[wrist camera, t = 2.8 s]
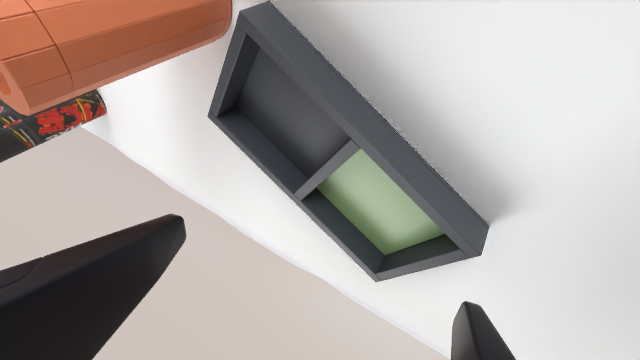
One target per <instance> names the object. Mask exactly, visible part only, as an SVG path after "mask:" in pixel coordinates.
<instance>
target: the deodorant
mask: <svg viewBox="0 0 640 360" xmlns="http://www.w3.org/2000/svg"><path fill="white" fill-rule="evenodd" d="M104 114H106V107H105V105H104V102H103V100H102V98H101V97H100V95H99V94H98V92H97V91H96V89H94V90H92V91H89V92H87V93H84V94H82V95H79V96H77V97H74V98H71V99H69V100H66V101H64V102H61V103H59V104H56V105H54V106H51V107H49V108H46V109H44V110H41V111H39V112H36V113H34V114H31V115H29V116H27V115H23V114H20V113H18V112H17V111H15V110H14V109H13V108H11V107H10V106H9V105H7V104H6V103H5V102H4V101H2V100H1V99H0V163H1V162H3V161H5V160H7V159H9V158H11V157H13V156H16V155H18V154H20V153H22V152H24V151H26V150H28V149H31V148H33V147H35V146H37V145H39V144H41V143H44V142H46V141H48V140H50V139H52V138H55V137H57V136H59V135H61V134H63V133H65V132H68V131H70V130H72V129H74V128H76V127H78V126H80V125H83V124H85V123H87V122H89V121H91V120H93V119H96V118H98V117H100V116H102V115H104Z"/></svg>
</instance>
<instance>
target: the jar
mask: <svg viewBox="0 0 640 360" xmlns="http://www.w3.org/2000/svg"><path fill="white" fill-rule="evenodd" d="M231 15H232V4H231V0H0V99H1V100H2V101H4V102H5V103H6V104H7V105H9V106H10V107H11V108H13V109H14V110H15V111H17V112H18V113H20V114H23V115H27V116H29V115H31V114H34V113H36V112H39V111H41V110H44V109H46V108H49V107H51V106H54V105H56V104H59V103H61V102H64V101H66V100H69V99H71V98H74V97H77V96H79V95H82V94H84V93H87V92H89V91H92V90H94V89H97V88H99V87H102V86H104V85H107V84H109V83H112V82H114V81H117V80H119V79H122V78H124V77H127V76H129V75H132V74H134V73H136V72H139V71H141V70H144V69H146V68H149V67H151V66H154V65H156V64H159V63H161V62H164V61H166V60H169V59H171V58H174V57H176V56H179V55H181V54H184V53H186V52H189V51H191V50H194V49H196V48H199V47H201V46H204V45H206V44H209V43H211V42H214V41H215V40H216V39H219V38H221V37H222V36H223V35H224V34H225V33H226V32H227V30H228V28H229V25H230V22H231Z"/></svg>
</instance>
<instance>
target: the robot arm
mask: <svg viewBox="0 0 640 360" xmlns="http://www.w3.org/2000/svg"><path fill="white" fill-rule="evenodd" d="M185 239H186V230H185V225H184V220H183V218H182V217H181V216H178V215H175V214H168V215H165V216H162V217H159V218H156V219H153V220H150V221H147V222H144V223H141V224H138V225H135V226H132V227H129V228H126V229H123V230H121V231H118V232H115V233H112V234H109V235H106V236H103V237H100V238H97V239H94V240H91V241H88V242H85V243H82V244H79V245H76V246H74V247H70V248H67V249H64V250H62V251H58V252H56V253H52V254H50V255H46V256H44V257H40V258H37V259H34V260H32V261H29V262H26V263H23V264H20V265H16V266H13V267H10V268H7V269H4V270H1V271H0V360H92V359H93V358H94V357H95V355H96V354H97V353H98V352H99V351H100V350H101V348H102V347H103V346H104V345H105V343H106V342H107V341H108V340H109V339H110V337H111V336H112V335H113V334H114V333H115V332H116V330H117V329H118V328H119V327H120V326H121V324H122V323H123V322H124V321H125V320H126V318H127V317H128V316H129V315H130V313H131V312H132V311H133V310H134V309H135V307H136V306H137V305H138V304H139V303H140V302H141V300H142V299H143V298H144V297H145V296H146V294H147V293H148V292H149V291H150V289H151V288H152V287H153V286H154V285H155V283H156V282H157V281H158V280H159V278H160V277H161V275H162V274H163V273H164V271H165V270H166V268H167V267H168V265H169V264H170V262H171V261H172V259H173V258H174V257H175V255H176V254H177V252H178V251H179V249H180V248H181V246H182V244H183V243H184V242H185ZM451 360H516V359H515V357H514V356H513V354H512V353H511V351H510V350H509V348H508V347H507V345H506V344H505V342H504V341H503V339H502V338H501V336H500V335H499V333H498V331H497V330H496V328H495V327H494V325H493V324H492V322H491V321H490V319H489V318H488V316H487V315H486V313H485V312H484V310H483V309H482V307H481V306H479V305H477V304H474V303H470V302H467V301H465V302H463V303H462V305H461V307H460V309H459V311H458V313H457V315H456V317H455V319H454V322H453V327H452V347H451Z"/></svg>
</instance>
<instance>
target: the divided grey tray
mask: <svg viewBox="0 0 640 360" xmlns="http://www.w3.org/2000/svg"><path fill="white" fill-rule="evenodd" d="M208 118H209V119H210V120H211V121H212V122H213V123H214V124H215V125H217V126H218V127H219V128H220V129H221V130H222V131H223V132H224V133H225V134H226V135H227V136H228V137H229V138H230V139H231V140H232V141H233V142H234V143H235V144H236V145H237V146H238V147H239V148H240V149H241V150H242V151H243V152H244V153H245V154H246V155H247V156H248V157H249V158H250V159H251V160H252V161H253V162H254V163H255V164H256V165H257V166H258V167H259V168H260V169H261V170H262V171H263V172H264V173H265V174H266V175H267V176H268V177H269V178H270V179H271V180H272V181H274V182H275V183H276V184H277V185H278V186H279V187H280V188H281V189H282V190H283V191H284V192H285V193H286V194H287V195H288V196H289V197H290V198H291V199H292V200H293V201H294V202H295V203H296V204H297V205H298V206H299V207H300V208H301V209H302V210H303V211H304V212H305V213H306V214H307V215H308V216H309V217H310V218H311V219H312V220H313V221H314V222H315V223H316V224H317V225H318V226H319V227H320V228H321V229H322V230H323V231H324V232H325V233H326V234H327V235H328V236H329V237H331V238H332V239H333V240H334V241H335V242H336V243H337V244H338V245H339V246H340V247H341V248H342V249H343V250H344V251H345V252H346V253H347V254H348V255H349V256H350V257H351V258H352V259H353V260H354V261H355V262H356V263H357V264H358V265H359V266H360V267H361V268H362V269H363V270H364V271H365V272H366V273H367V274H368V275H369V276H370V277H371V278H372V279H373V280H374V281H375V282H378V281H381V280H382V281H383V280H387V279H391V278H394V277H398V276H402V275H406V274H410V273H414V272H418V271H422V270H426V269H430V268H434V267H438V266H442V265H446V264H449V263H453V262H457V261H461V260H465V259H469V258H473V257H477V256H481V254H482V251H483V247H484V244H485V240H486V237H487V233H488V229H489V225H488V224H487V223H486V222H485V221H484V220H483V219H482V218H481V217H480V216H479V215H478V214H477V213H476V212H475V211H474V210H473V209H472V208H471V207H470V206H469V205H468V204H467V203H466V202H465V201H464V200H463V199H462V198H461V197H460V196H459V195H458V194H457V193H456V192H455V191H454V190H453V189H452V188H451V187H450V186H449V185H448V184H447V183H446V181H445V180H444V179H443V178H442V177H441V176H440V175H439V174H438V173H437V172H436V171H435V170H434V169H433V168H432V167H431V166H430V165H429V164H428V163H427V162H426V161H425V160H424V159H423V158H422V157H421V156H420V155H419V154H418V153H417V152H416V151H415V150H414V149H413V148H412V147H411V146H410V145H409V144H408V143H407V142H406V141H405V140H404V139H403V138H402V137H401V136H400V135H399V134H398V132H397V131H396V130H395V129H394V128H393V127H392V126H391V125H390V124H389V123H388V122H387V121H386V120H385V119H384V118H383V117H382V116H381V115H380V114H379V113H378V112H377V111H376V110H375V109H374V108H373V107H372V106H371V105H370V104H369V103H368V102H367V101H366V100H365V99H364V98H363V97H362V96H361V95H360V94H359V93H358V92H357V91H356V90H355V89H354V88H353V87H352V86H351V85H350V83H349V82H348V81H347V80H346V79H345V78H344V77H343V76H342V75H341V74H340V73H339V72H338V71H337V70H336V69H335V68H334V67H333V66H332V65H331V64H330V63H329V62H328V61H327V60H326V59H325V58H324V57H323V56H322V55H321V54H320V53H319V52H318V51H317V50H316V49H315V48H314V47H313V46H312V45H311V44H310V43H309V42H308V41H307V40H306V39H305V38H304V37H303V36H302V35H301V33H300V32H299V31H298V30H297V29H296V28H295V27H294V26H293V25H292V24H291V23H290V22H289V21H288V20H287V19H286V18H285V17H284V16H283V15H282V14H281V13H280V12H279V11H278V10H277V9H276V8H275V7H274V6H273V5H272V4H271V3H270V2H269V1H267V2H265V3H262V4H259V5H256V6H253V7H250V8H247V9H244V10H241V11H240V12H239V15H238V19H237V22H236V26H235V29H234V32H233V35H232V39H231V42H230V45H229V48H228V52H227V55H226V58H225V61H224V65H223V68H222V71H221V74H220V77H219V81H218V84H217V87H216V90H215V94H214V97H213V100H212V103H211V107H210V110H209V113H208Z"/></svg>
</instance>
